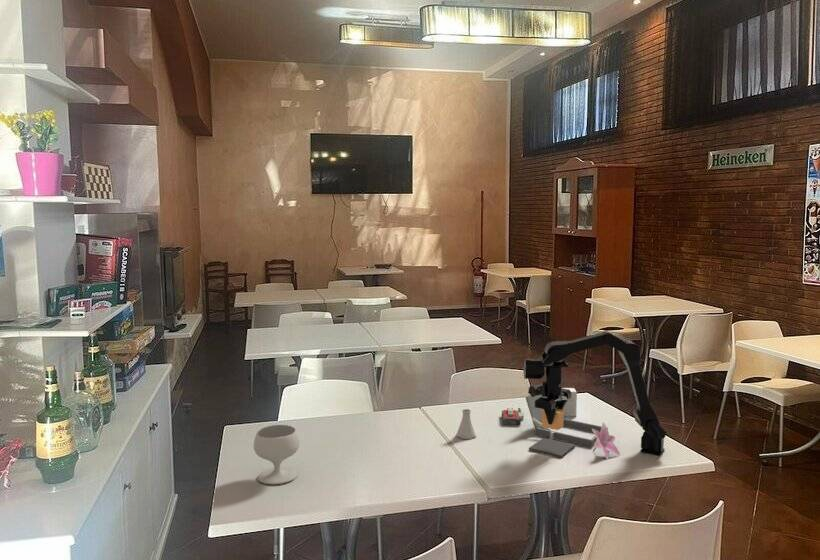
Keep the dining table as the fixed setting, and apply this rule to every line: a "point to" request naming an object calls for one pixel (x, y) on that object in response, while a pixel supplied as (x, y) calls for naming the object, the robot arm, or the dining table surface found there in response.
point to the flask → (466, 426)
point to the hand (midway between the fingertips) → (553, 422)
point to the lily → (605, 441)
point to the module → (557, 420)
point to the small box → (570, 403)
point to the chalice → (276, 452)
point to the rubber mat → (552, 447)
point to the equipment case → (546, 432)
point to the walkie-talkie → (512, 416)
